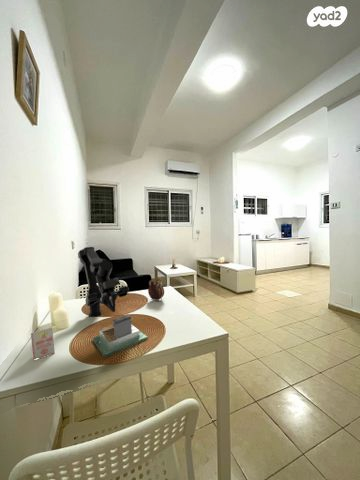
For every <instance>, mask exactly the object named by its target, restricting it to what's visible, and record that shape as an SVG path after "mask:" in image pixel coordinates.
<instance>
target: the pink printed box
mask: <svg viewBox="0 0 360 480" xmlns="http://www.w3.org/2000/svg"><path fill="white" fill-rule="evenodd" d="M30 336H31V350H32V359H33V360H34V359H36V358H40V359H42V358H41V357H43V358H45V357H44V356H46V357H48V356H47V355H49V356H51V355H50V354H52V355H54V354H55V342H54V332H53V326H52V327H51V326H50V327H47V328H44V329H41V330H37V331H33V332H31V333H30ZM53 353H54V354H53Z"/></svg>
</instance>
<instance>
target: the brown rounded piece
mask: <svg viewBox="0 0 360 480" xmlns="http://www.w3.org/2000/svg"><path fill="white" fill-rule="evenodd" d="M153 279H155V280H158V281H155V280H153ZM147 291H148V296H149V297H150V299H151V300H153V301H158V302H160V300H163V299H162V298H163V297H164V295H165V287H164V286H163V282H162V281H161V280H160V279H159V278H158V277H153V278H151V280H149V282H148V289H147Z"/></svg>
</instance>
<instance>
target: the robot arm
mask: <svg viewBox="0 0 360 480" xmlns="http://www.w3.org/2000/svg"><path fill="white" fill-rule="evenodd" d="M77 255H78V256H77V257H78V259H79V261H80V263H81V264H83V266H84V270H85V276H86V281H87V287H88V290H87V292H86V296H85V305H86V306H87V307H89V313H88V318H89V317H94V316H102V311H103V310H102V309H101V305H104V306H106V308H108V309H109V310H110V311H111V312H112V313H114V312H116V300H117V299H118V297H120V298H122V297H126V296H127V295H128V294H129V291H130V289H129V288H130V287H128V286H127V285H123V286H120V287H119V288H118V290H116V287H117V286H118V285H119V284H120V283H121V282H120V279H119V277H114V278H113V279H110V275H111V273H112V270H113V267H114V266H113V263H112V262H111V261H109V260H107V259H106V258H105V259H104V258H100V257H99V255H98V253H97V252H96V251H95V247H94V246H86V247H84V248H83V249H80V250H78V253H77ZM95 274H96V275H95Z"/></svg>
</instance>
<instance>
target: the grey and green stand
mask: <svg viewBox="0 0 360 480" xmlns="http://www.w3.org/2000/svg"><path fill="white" fill-rule="evenodd" d="M131 318H132V316H131V315H129V314H127V315H123V316H120V317H118V318H114V319H112V320H111V323H112V324H114V327H112V328H109V329H106V330H102V329H101V330H99V335H97V336H94V337H92V342H93V343H94V344H95V346H96V347H97V349H98V351H99V352H100V354H101V355H102V357H104V359H106V358H108V357H110V356H112V355H115V354H117V353H119V352H121V351H124V350H126V349H128V348H130V347H133V346H134V345H137V344H139V343H142V342H144V341H146V340H148V336H147V335H146V334H144V333H143V332H142V331H140V329H138V328H137V327H135V326H134V325H133V324H132V321H131Z"/></svg>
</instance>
